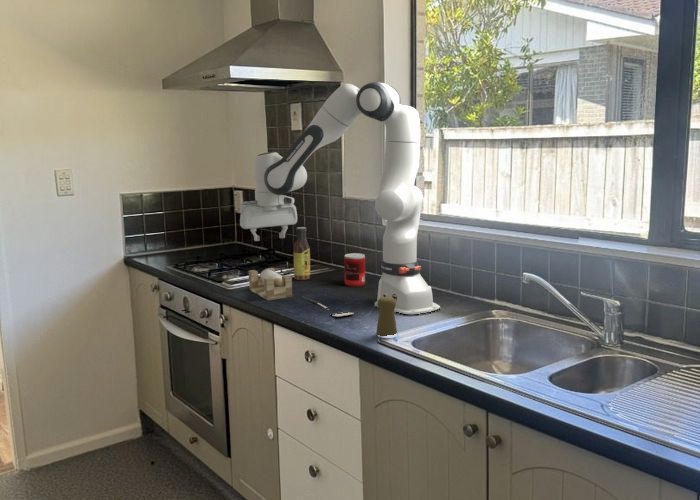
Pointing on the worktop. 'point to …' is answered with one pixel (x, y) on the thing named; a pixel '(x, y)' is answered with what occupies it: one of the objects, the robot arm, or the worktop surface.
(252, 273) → the holder
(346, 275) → the canned food
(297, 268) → the sauce bottle
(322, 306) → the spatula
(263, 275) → the roll
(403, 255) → the robot arm
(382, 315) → the olive green tall figure
